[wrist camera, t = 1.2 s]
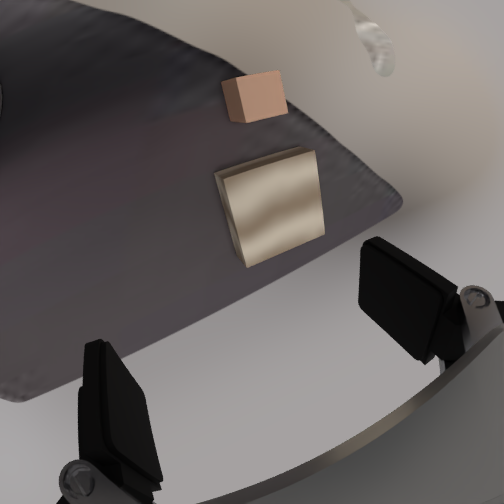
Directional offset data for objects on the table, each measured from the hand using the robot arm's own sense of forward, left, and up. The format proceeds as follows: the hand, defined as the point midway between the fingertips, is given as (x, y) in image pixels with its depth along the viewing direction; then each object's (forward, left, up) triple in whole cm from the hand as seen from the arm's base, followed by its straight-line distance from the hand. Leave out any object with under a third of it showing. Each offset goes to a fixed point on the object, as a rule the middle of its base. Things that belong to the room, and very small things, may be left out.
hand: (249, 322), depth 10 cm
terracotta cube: (-5, +12, -27) cm, 30 cm away
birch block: (+9, +12, -28) cm, 31 cm away
